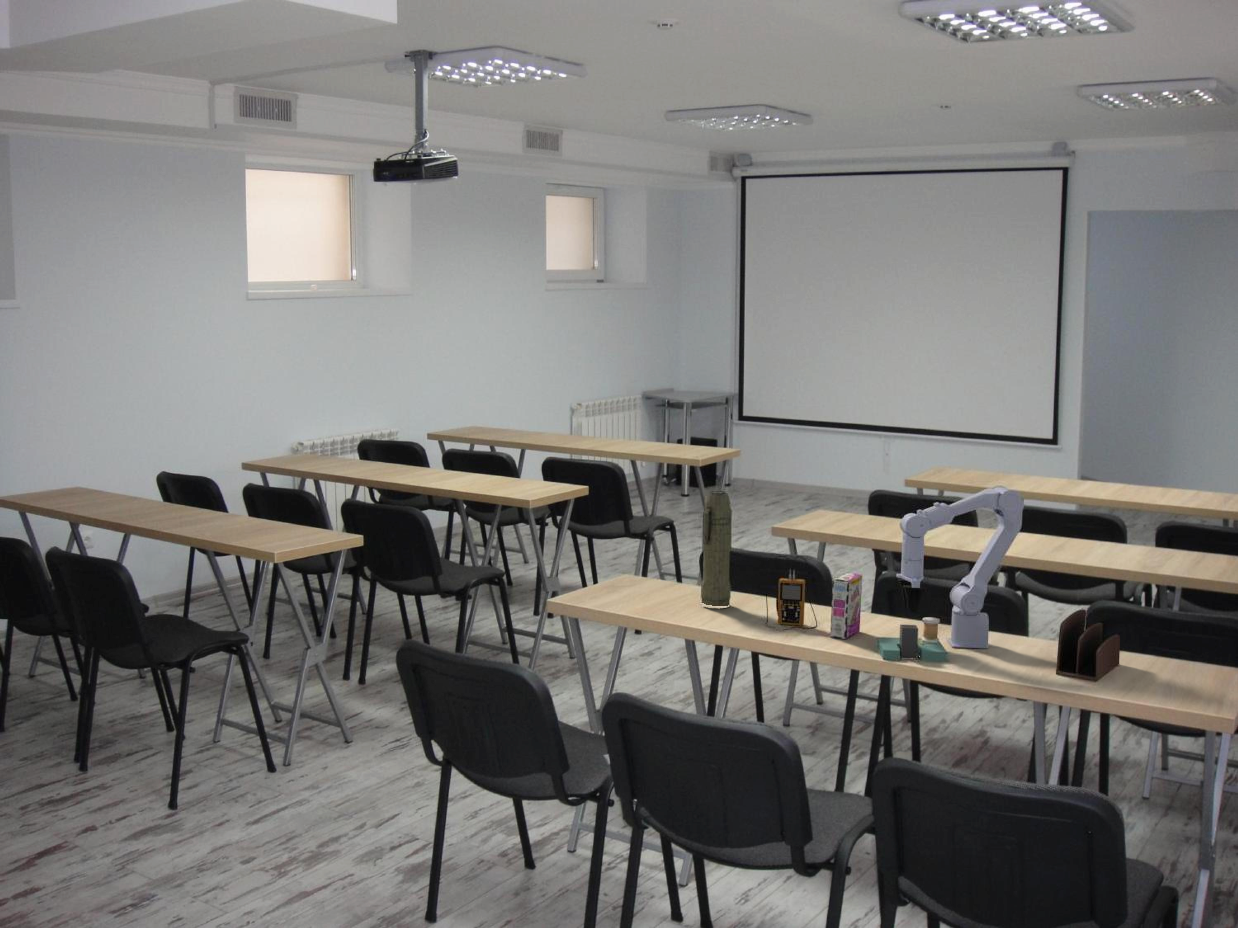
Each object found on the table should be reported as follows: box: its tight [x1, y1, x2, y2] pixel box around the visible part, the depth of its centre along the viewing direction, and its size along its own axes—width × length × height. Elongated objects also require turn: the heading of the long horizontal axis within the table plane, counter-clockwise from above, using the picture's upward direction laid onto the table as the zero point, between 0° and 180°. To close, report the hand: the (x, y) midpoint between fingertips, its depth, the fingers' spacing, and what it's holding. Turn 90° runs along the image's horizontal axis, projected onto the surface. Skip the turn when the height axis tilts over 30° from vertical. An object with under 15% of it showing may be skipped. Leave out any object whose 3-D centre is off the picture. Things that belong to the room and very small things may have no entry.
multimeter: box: [765, 555, 818, 631], centre depth 342 cm, size 15×10×20 cm
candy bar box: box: [829, 572, 863, 640], centre depth 336 cm, size 11×5×16 cm, turn 149°
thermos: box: [700, 490, 733, 606], centre depth 367 cm, size 9×12×35 cm
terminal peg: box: [899, 624, 919, 660], centre depth 314 cm, size 4×4×8 cm
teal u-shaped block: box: [876, 616, 948, 662], centre depth 317 cm, size 16×13×8 cm
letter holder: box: [1055, 609, 1121, 683], centre depth 304 cm, size 10×20×14 cm, turn 143°
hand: (910, 608), depth 325 cm, fingers open, 7 cm apart
